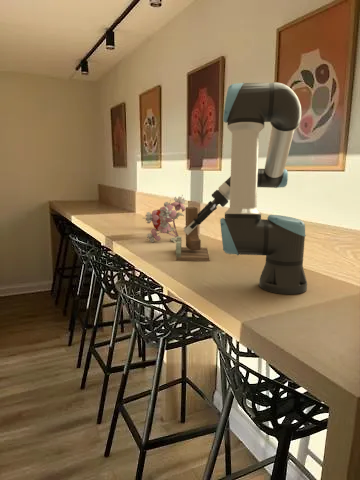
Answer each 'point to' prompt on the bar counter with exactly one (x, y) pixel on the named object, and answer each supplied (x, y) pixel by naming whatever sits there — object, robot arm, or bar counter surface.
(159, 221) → the red rounded piece
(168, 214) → the flower
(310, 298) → the bar counter surface
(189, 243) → the wooden block
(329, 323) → the bar counter surface
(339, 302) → the bar counter surface
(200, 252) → the walnut edge board
